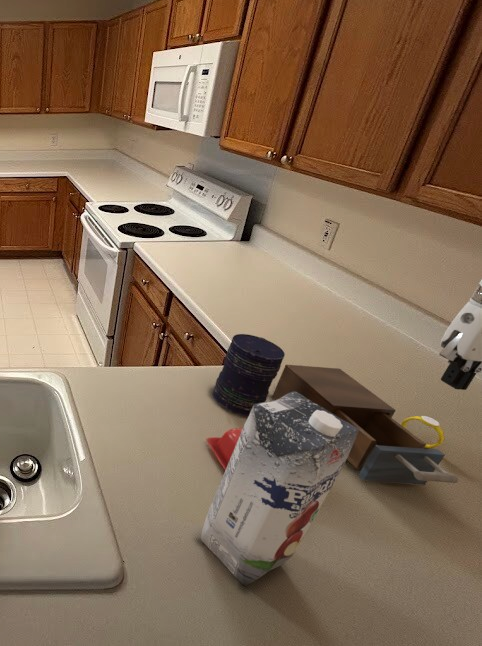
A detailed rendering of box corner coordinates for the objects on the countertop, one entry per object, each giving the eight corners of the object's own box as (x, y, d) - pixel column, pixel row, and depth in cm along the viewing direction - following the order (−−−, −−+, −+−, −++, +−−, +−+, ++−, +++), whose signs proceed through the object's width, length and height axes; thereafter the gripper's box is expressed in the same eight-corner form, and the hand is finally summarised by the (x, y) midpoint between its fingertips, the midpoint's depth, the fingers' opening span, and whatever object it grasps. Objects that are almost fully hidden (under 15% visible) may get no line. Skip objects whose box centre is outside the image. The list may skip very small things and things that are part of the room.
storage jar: (214, 382, 100) (237, 317, 93) (261, 399, 95) (289, 332, 88) (209, 403, 92) (234, 334, 85) (260, 423, 87) (291, 352, 80)
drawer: (453, 510, 70) (477, 478, 67) (388, 505, 69) (409, 474, 67) (364, 433, 86) (380, 405, 83) (311, 429, 85) (325, 401, 83)
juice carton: (189, 536, 62) (248, 393, 52) (234, 514, 66) (297, 377, 56) (245, 598, 55) (326, 444, 45) (292, 568, 59) (375, 421, 49)
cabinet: (375, 445, 84) (396, 410, 81) (315, 441, 84) (333, 405, 80) (324, 400, 97) (339, 368, 93) (271, 396, 96) (285, 364, 93)
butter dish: (233, 492, 70) (250, 455, 67) (201, 441, 81) (214, 407, 78) (300, 498, 70) (319, 461, 67) (259, 446, 81) (274, 412, 78)
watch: (394, 433, 88) (407, 411, 86) (400, 430, 89) (413, 408, 87) (431, 454, 83) (446, 431, 81) (437, 450, 84) (452, 428, 82)
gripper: (488, 308, 69) (435, 395, 76) (572, 313, 70) (512, 400, 77) (442, 289, 76) (397, 371, 83) (518, 294, 77) (467, 375, 84)
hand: (452, 384), depth 80 cm, fingers closed
